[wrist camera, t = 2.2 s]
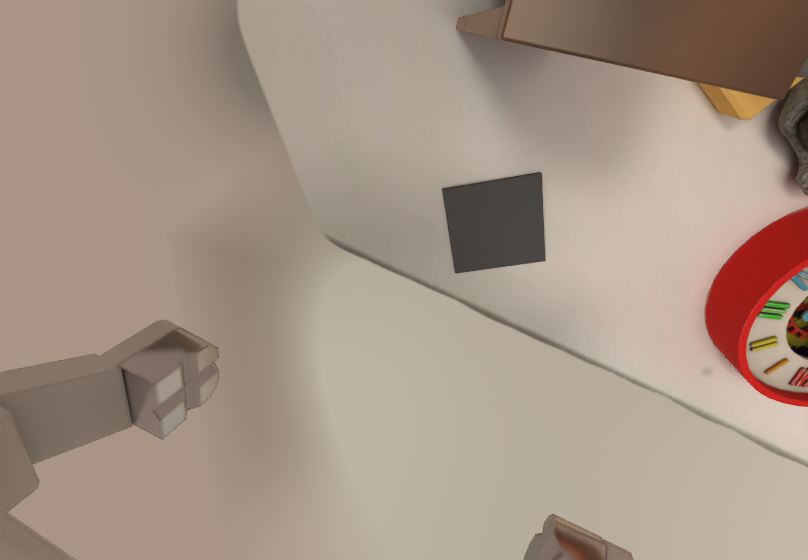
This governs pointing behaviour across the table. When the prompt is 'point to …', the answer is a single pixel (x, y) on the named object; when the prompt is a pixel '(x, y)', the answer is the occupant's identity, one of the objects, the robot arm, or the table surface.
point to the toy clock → (766, 310)
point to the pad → (496, 223)
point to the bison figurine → (797, 128)
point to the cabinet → (666, 37)
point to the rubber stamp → (743, 99)
